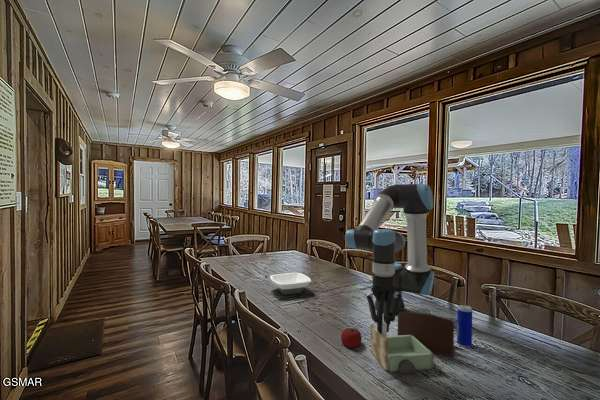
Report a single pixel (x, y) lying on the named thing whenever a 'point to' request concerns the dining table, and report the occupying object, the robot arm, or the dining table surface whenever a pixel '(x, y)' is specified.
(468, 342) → the beverage can
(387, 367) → the panel
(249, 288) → the dining table surface
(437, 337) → the letter holder
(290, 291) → the bowl
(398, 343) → the box
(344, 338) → the tomato
